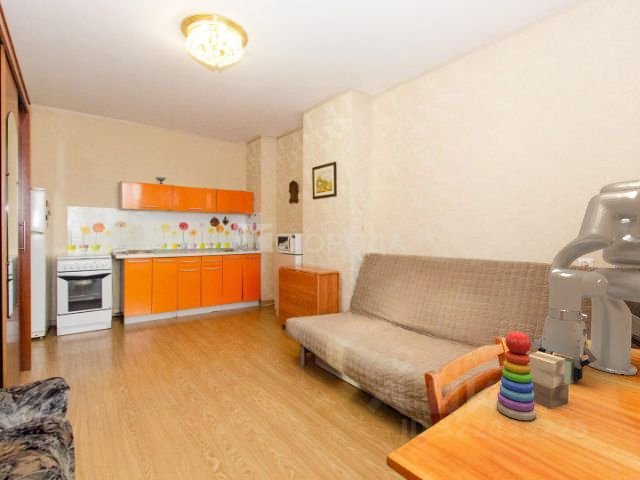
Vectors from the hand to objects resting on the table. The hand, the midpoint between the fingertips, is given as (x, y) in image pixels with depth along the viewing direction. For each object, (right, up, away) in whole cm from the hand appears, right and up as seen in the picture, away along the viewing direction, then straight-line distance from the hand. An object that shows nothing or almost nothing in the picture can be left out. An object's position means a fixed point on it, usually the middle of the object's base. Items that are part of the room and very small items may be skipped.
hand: (562, 375), depth 94 cm
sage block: (0, -1, 0) cm, 1 cm away
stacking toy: (-25, -1, -19) cm, 31 cm away
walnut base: (-14, -1, -12) cm, 18 cm away
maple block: (-14, +4, -12) cm, 19 cm away
